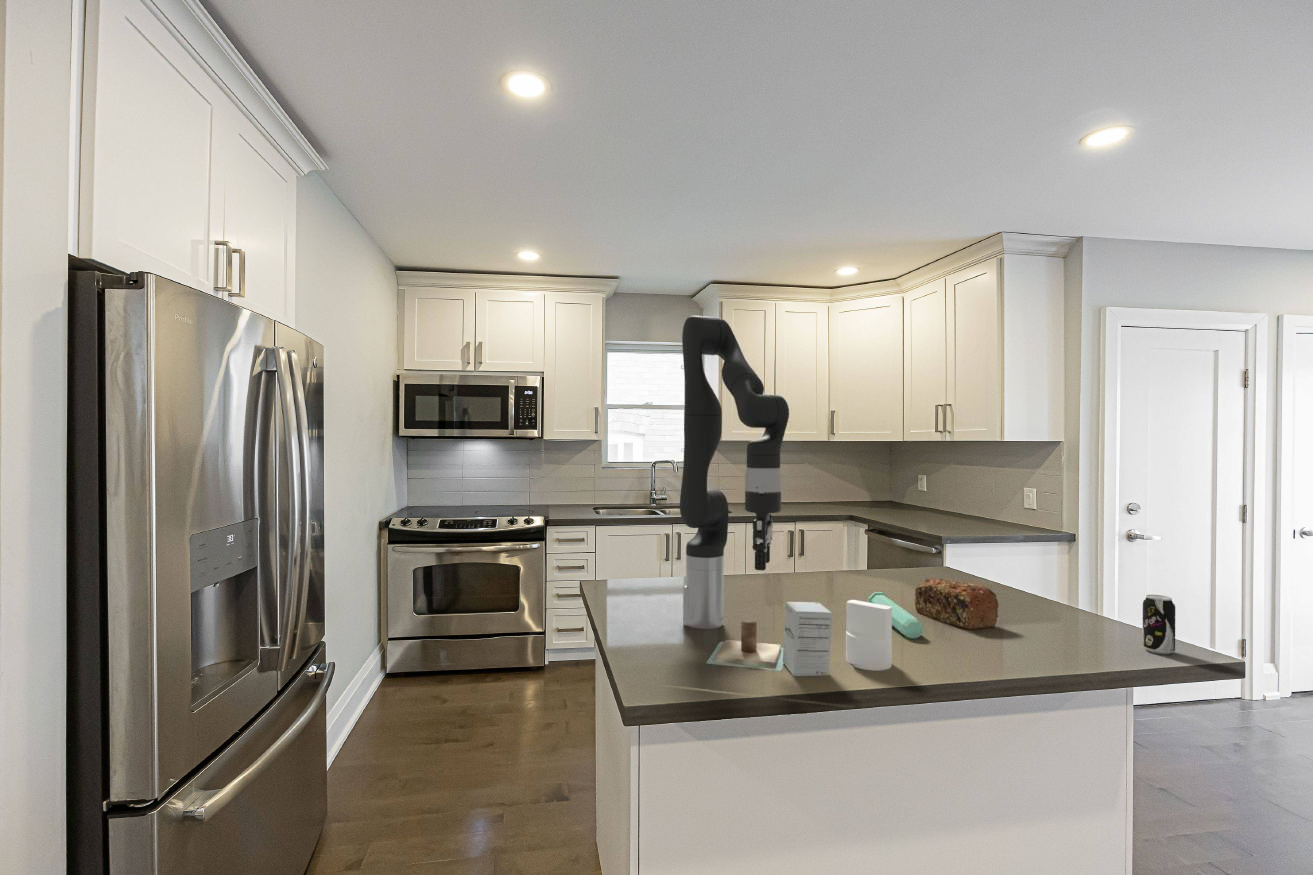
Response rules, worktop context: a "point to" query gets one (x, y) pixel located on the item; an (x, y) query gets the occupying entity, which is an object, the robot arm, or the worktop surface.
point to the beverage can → (1158, 624)
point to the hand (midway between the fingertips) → (762, 566)
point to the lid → (748, 648)
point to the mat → (777, 667)
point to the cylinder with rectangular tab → (868, 635)
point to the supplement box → (807, 638)
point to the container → (899, 616)
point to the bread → (957, 603)
